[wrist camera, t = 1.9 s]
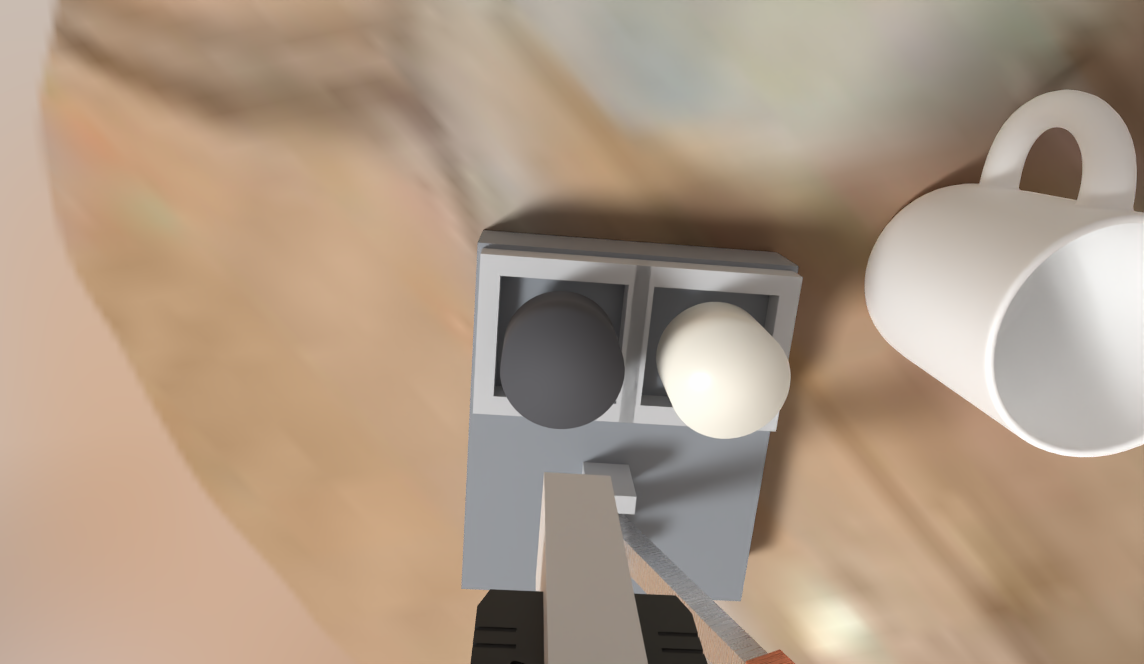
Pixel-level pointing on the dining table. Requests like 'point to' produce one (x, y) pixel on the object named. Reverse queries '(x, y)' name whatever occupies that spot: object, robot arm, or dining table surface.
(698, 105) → the dining table surface
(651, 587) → the lever
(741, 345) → the button ivory
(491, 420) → the panel
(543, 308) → the button black
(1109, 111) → the mug
